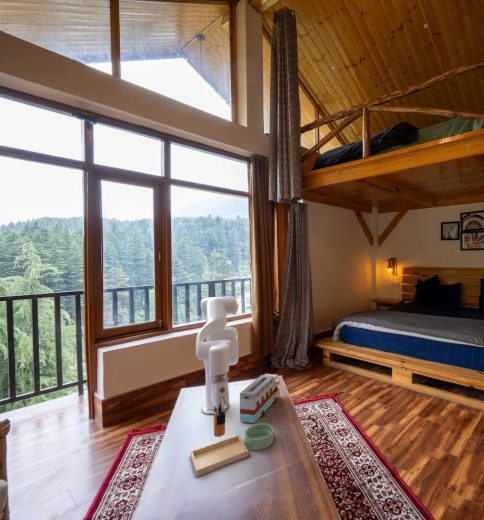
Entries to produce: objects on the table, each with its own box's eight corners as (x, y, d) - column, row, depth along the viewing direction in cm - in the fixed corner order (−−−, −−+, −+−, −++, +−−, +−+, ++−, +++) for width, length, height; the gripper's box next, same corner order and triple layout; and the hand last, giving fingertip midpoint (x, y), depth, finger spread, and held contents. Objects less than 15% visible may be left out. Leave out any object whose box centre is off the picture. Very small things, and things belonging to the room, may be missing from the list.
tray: (190, 457, 121) (190, 451, 121) (238, 440, 132) (238, 434, 132) (196, 477, 110) (196, 470, 110) (248, 456, 121) (248, 450, 121)
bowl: (241, 440, 132) (241, 429, 132) (267, 431, 139) (267, 420, 139) (250, 455, 122) (250, 443, 122) (277, 444, 129) (277, 433, 129)
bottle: (212, 433, 121) (212, 407, 121) (223, 429, 123) (223, 404, 123) (215, 438, 118) (215, 411, 118) (226, 434, 120) (226, 408, 120)
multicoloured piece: (280, 396, 173) (280, 370, 173) (254, 425, 143) (254, 394, 143) (267, 395, 174) (267, 369, 174) (239, 423, 145) (239, 393, 144)
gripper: (234, 381, 116) (234, 427, 116) (223, 367, 129) (223, 409, 130) (214, 386, 111) (214, 434, 111) (205, 371, 125) (205, 415, 125)
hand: (219, 420), depth 121 cm, fingers closed on bottle, 4 cm apart
